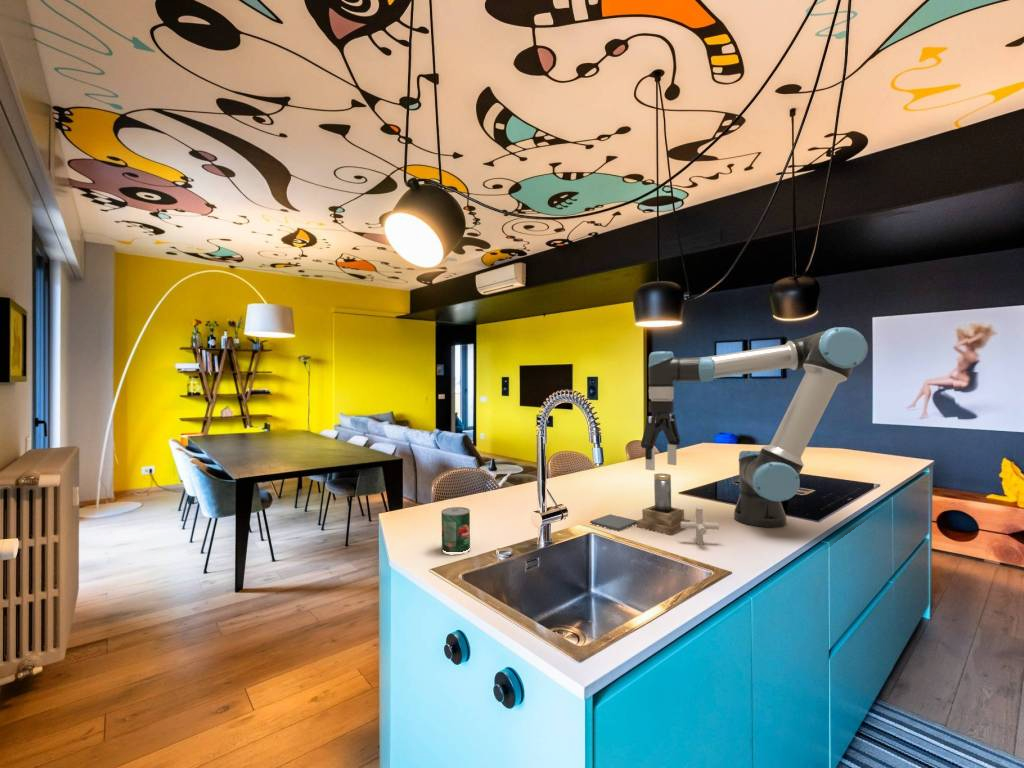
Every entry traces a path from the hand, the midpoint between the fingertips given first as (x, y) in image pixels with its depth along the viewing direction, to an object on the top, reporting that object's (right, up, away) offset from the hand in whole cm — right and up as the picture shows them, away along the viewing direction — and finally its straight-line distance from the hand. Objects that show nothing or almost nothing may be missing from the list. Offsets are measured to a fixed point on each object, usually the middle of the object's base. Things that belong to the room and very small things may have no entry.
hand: (661, 467), depth 148 cm
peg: (0, -17, 0) cm, 17 cm away
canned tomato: (-63, -20, -19) cm, 69 cm away
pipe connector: (+6, -19, -16) cm, 25 cm away
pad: (-14, -19, +4) cm, 24 cm away
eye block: (+1, -19, 0) cm, 19 cm away
